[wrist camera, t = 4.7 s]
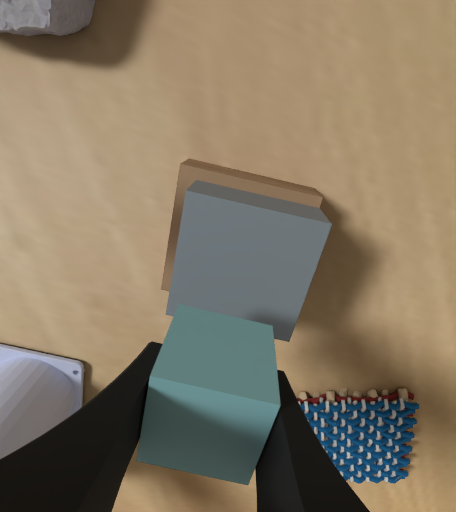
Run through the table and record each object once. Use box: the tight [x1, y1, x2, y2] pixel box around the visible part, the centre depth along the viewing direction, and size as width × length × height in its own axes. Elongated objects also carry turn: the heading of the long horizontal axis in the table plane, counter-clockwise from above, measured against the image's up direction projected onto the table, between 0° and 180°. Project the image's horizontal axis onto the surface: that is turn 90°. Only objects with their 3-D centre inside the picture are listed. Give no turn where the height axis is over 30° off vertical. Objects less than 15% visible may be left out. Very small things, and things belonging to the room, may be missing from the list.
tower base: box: [161, 159, 323, 291], centre depth 20 cm, size 8×8×3 cm
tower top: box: [166, 180, 332, 342], centre depth 17 cm, size 7×7×3 cm
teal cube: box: [136, 304, 280, 485], centre depth 12 cm, size 4×4×4 cm
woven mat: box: [297, 388, 419, 483], centre depth 27 cm, size 10×11×2 cm
